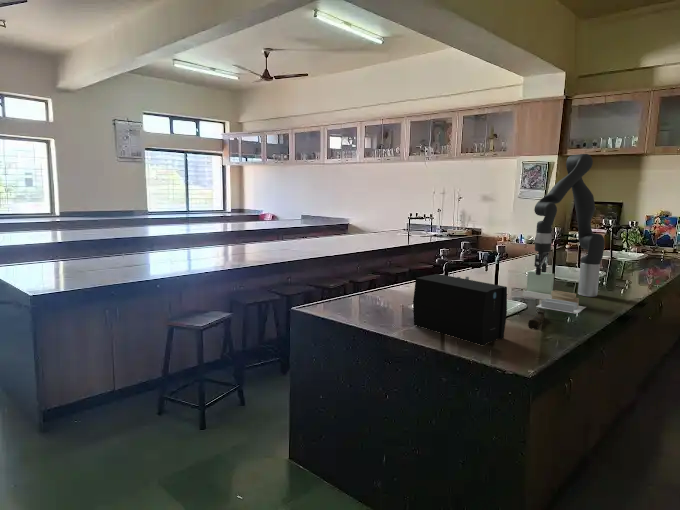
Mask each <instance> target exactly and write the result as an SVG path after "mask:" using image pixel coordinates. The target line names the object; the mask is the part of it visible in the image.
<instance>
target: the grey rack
mask: <svg viewBox="0 0 680 510" xmlns="http://www.w3.org/2000/svg"><path fill="white" fill-rule="evenodd" d="M535 307H536V308H541V309H545V310H546V309H548V310H553V311H560V312H564V313H571V314H575V315H576V314H579V313H581V312H582V311H583V310H584V309H586V308H587V306H582V305H579V306H578V303H575V302H569V301H563V300H556V299H550V298H546V300H541V303H540V304H538V305H536V306H535Z"/></svg>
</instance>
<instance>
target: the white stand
mask: <svg viewBox="0 0 680 510" xmlns="http://www.w3.org/2000/svg"><path fill="white" fill-rule="evenodd" d="M522 297H524V298H528V299H529V298H530V299H535V300H541V301H542V300H545V301H546V298H550V299H552V296H551V295H550V294H544V293H537V292H531V291H526V290H522Z"/></svg>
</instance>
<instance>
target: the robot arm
mask: <svg viewBox="0 0 680 510" xmlns="http://www.w3.org/2000/svg"><path fill="white" fill-rule="evenodd" d="M593 162H594V161H593V157H592V156H591V155H590V154H588V153H580V154H579V153H578V154H572V155H569V156H568V157H567V159H566V161H565V166H566V171H567V175H565V176H564V177H562V178H561V179H560V180H558V181H557V182H556V183H555V184H554V185H553V187H552V188H551V189H550V190H549V191H548V194H546V195H544V196H543V197H542V198H540V199H539V200H538V201H537V202H536V204H535V206H534V209H533V211H534V213H535V215H537V216H539V217H543V219H542V220H539V221H537V223H536V231H535V238H534V241H535V242H534V251H535V252H537V254H535V255H534V265H533V266H534V267H535V271H536V275H541V272H544V273H547V267H548V264H549V263H550V262H549V259H550V252H551V251H552V240H553V239H552V232H553V230H552V229H553V224H554V222H555V221H554V220H555V218H556V216H557V212H558V207H557V204H559V203H560V202H561V201H562V200H563V198H565V196H566V195H567V193H568V192H569V191H570V189H571V192H572V196H573V203H574V208H575V212H576V213H575V214H576V221H577V230H578V231H577V232H578V244H579V246H580V248H582V249H583V250H587V254H586V255H584V256H581V258H580V266H579V267H580V268H579V275H578V276H579V279H578V287H577V288H578V289H577V294H578V295H579V296H584V297H590V298H591V297H598V290H599V280H600V272H601V262H602V260H603V256H604V252H605V251H604V250H605V245H606V244H605V242H606V241H605V238H604V236H603V235H602V234H600V233H596V232H595V233H594V232H593V231H592V218H593V216H594V214H595V210H596V204H595V197H594V195H593V193H592V191H591V190H590V188H589V187H588V186H587V185H586V183H585V182H584V179H583V177H584V176H585V175H586V174H587V172H589V171H590V169H592V167H593V164H594V163H593Z"/></svg>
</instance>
